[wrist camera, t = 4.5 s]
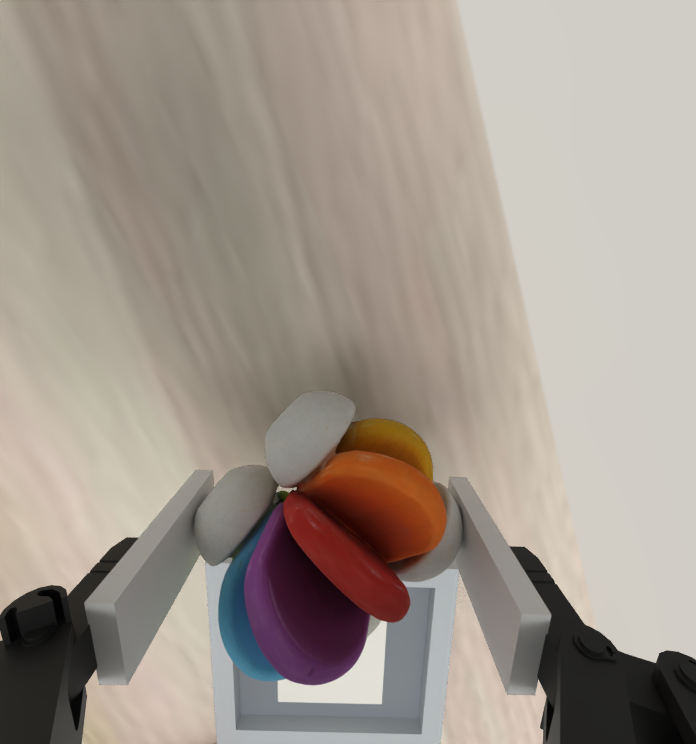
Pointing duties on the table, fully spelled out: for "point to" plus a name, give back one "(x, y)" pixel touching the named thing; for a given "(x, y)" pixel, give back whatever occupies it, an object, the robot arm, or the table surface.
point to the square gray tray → (347, 681)
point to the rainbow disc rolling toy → (323, 539)
